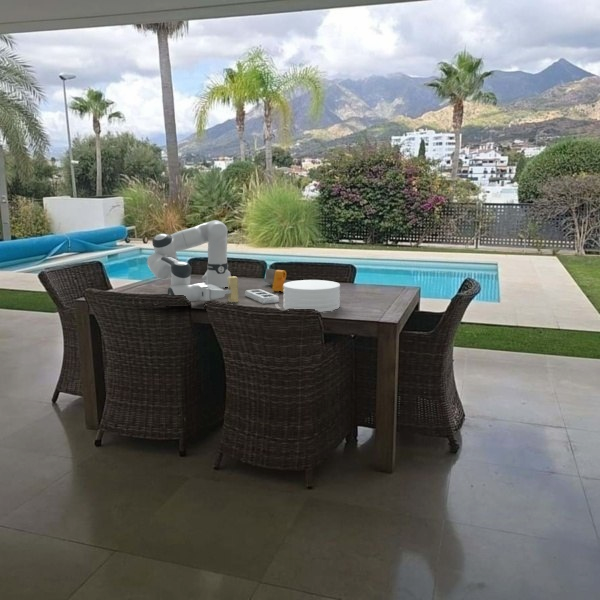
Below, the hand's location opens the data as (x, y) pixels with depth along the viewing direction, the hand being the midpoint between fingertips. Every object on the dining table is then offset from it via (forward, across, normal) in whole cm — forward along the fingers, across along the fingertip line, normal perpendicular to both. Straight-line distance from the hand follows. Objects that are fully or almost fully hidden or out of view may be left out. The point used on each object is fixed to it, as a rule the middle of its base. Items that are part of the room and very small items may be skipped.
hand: (227, 289), depth 298 cm
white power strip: (+19, 0, -7) cm, 20 cm away
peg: (+3, 0, -7) cm, 8 cm away
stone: (+44, -34, -7) cm, 56 cm away
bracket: (+39, -16, -7) cm, 43 cm away
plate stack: (+33, +30, -7) cm, 45 cm away
